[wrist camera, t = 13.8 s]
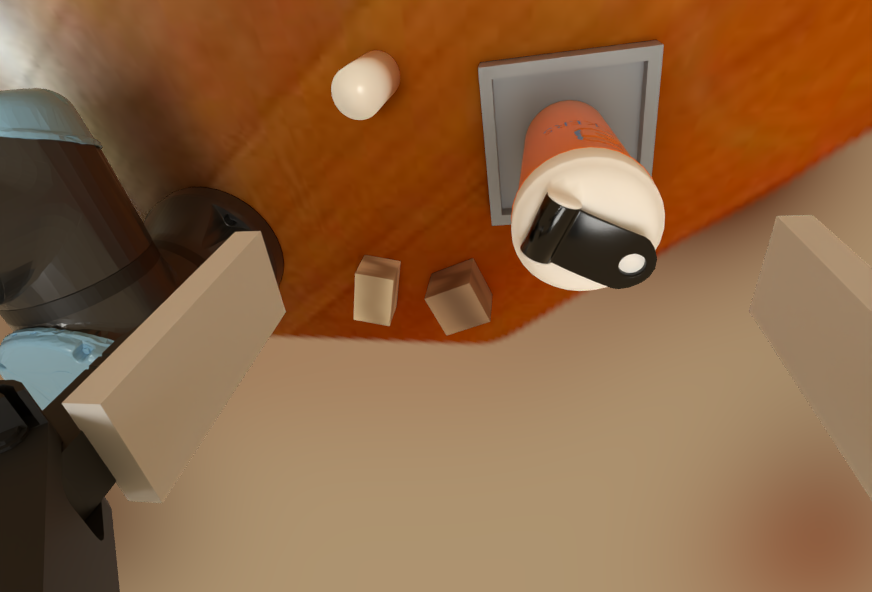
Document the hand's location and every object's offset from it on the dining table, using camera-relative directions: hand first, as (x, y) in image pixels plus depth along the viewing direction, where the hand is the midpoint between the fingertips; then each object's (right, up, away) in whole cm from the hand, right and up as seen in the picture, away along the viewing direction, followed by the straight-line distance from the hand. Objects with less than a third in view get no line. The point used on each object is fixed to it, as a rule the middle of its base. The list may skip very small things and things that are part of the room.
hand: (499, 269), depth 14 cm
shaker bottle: (+10, +13, +31) cm, 35 cm away
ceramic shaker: (-7, +19, +31) cm, 37 cm away
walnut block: (+1, +1, +42) cm, 42 cm away
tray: (+10, +13, +32) cm, 36 cm away
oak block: (-8, +1, +43) cm, 44 cm away
